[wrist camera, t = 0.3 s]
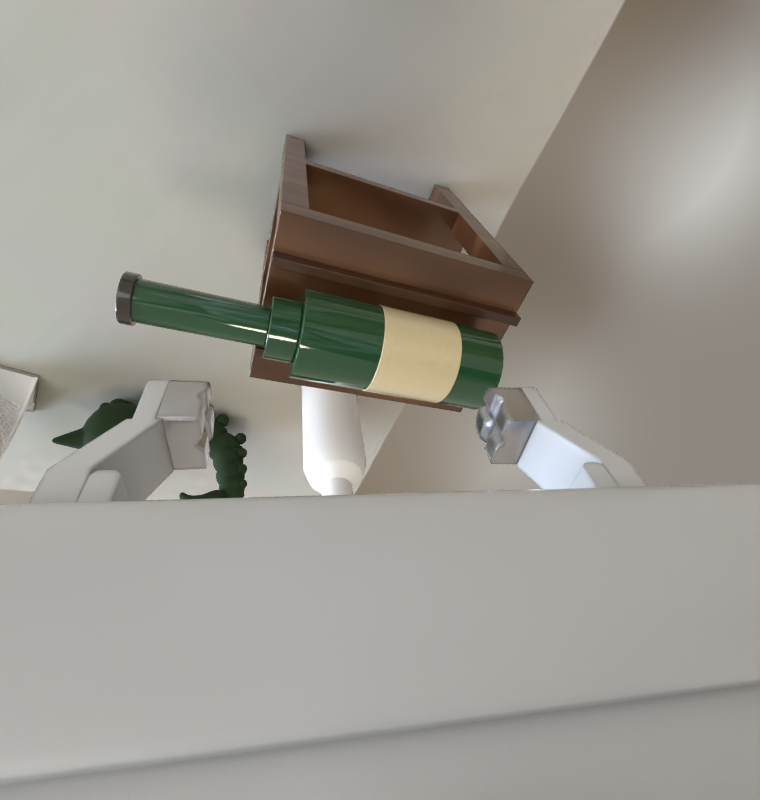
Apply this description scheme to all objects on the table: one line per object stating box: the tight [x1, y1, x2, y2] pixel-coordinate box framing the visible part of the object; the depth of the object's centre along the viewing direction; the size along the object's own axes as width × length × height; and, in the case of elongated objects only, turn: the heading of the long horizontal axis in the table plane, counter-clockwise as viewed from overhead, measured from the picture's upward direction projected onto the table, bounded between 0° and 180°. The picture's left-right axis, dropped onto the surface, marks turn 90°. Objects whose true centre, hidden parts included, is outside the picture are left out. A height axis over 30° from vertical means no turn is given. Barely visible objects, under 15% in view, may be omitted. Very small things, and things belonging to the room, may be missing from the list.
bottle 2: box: [301, 386, 366, 495], centre depth 59 cm, size 8×8×30 cm
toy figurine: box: [52, 399, 247, 499], centre depth 64 cm, size 9×19×25 cm
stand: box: [249, 135, 533, 412], centre depth 46 cm, size 14×20×27 cm
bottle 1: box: [116, 272, 503, 409], centre depth 33 cm, size 6×26×6 cm, turn 71°
